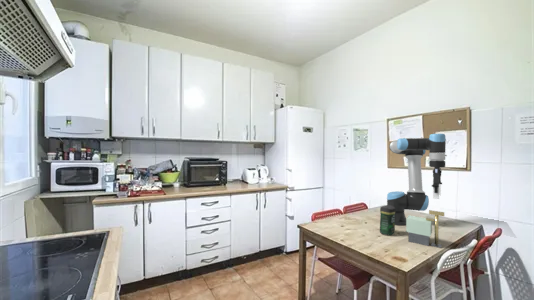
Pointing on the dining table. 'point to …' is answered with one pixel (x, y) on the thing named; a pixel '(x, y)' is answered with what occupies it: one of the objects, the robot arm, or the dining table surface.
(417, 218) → the mint green block
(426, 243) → the block
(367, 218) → the dining table surface
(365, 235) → the dining table surface
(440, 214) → the t key
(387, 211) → the coffee jar
